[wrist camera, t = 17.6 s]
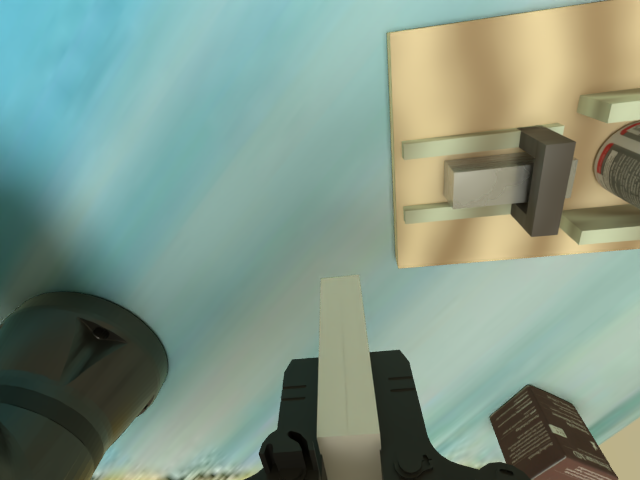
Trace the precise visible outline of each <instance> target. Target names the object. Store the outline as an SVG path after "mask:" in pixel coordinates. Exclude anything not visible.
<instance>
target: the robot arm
mask: <svg viewBox="0 0 640 480" xmlns="http://www.w3.org/2000/svg"><path fill="white" fill-rule="evenodd" d="M167 370H168V363H167V357H166V354H165V351H164V349H163V347H162V345H161V343H160V341H159V340H158V338H157V337H156V336H155V334H154V333H153V332H152V331H151V330H150V329H149V328H148V327H147V326H146V325H145V324H144V323H143V322H142V321H141V320H140V319H138V318H137V317H136V316H134V315H133V314H131V313H130V312H128V311H127V310H125V309H123V308H121V307H119V306H118V305H115V304H113V303H111V302H109V301H106V300H104V299H101V298H98V297H94V296H91V295H86V294H81V293H74V292H52V293H46V294H42V295H38V296H36V297H33V298H31V299H29V300H27V301H26V302H24V303H23V304H22V305H21V306H20V307H18V308H17V309H16V310H15V311H14V312H13V313H12V314H10V315H9V316H8V317H7V318H6V319H5V320H4V321H3V322H2V323H1V325H0V480H90V479H91V477H92V475H93V473H94V471H95V470H96V468H97V466H98V464H99V462H100V461H101V459H102V457H103V455H104V454H105V452H106V451H107V449H108V448H109V447H110V446H111V445H112V444H113V443H114V442H115V441H116V440H117V439H118V438H119V437H120V435H121V434H122V433H123V432H124V431H125V430H126V429H127V428H128V426H129V425H130V424H131V423H132V421H133V420H134V419H135V418H136V417H137V416H139V415H140V414H142V413H143V412H144V411H145V410H146V409H147V408H148V407H149V406H150V405H151V404H152V403H153V401H154V400H155V398H156V397H157V395H158V393H159V391H160V389H161V387H162V385H163V383H164V381H165V379H166V376H167ZM259 456H260V459H261V462H262V465H263V467H264V468H263V469H262V470H260V471H259V472H258V473H257V474H255V475H253V476H251V477H249V478H247V479H244V480H531V479H530V478H529V477H528V476H527V475H526V474H525V473H524V472H523V471H521V470H519V469H518V468H516V467H515V466H513V465H510V464H506V463H502V462H496V463H488V464H487V465H485V466H484V467H482V468H480V470H478V469H474V468H471V467H467V466H463V465H460V464H457V463H454V462H451V461H449V460H448V459H446V458H444V457H443V456H441V455H440V454H439V453H438V452H437V451H436V450H435V449H434V447H433V446H432V444H431V443H430V441H429V438H428V435H427V432H426V428H425V424H424V420H423V416H422V412H421V408H420V404H419V400H418V396H417V391H416V387H415V383H414V379H413V375H412V371H411V367H410V363H409V361H408V360H407V358H406V357H405V356H404V355H403V354H402V352H401V351H400V350H392V351H379V352H369V346H368V339H367V331H366V323H365V316H364V308H363V301H362V293H361V285H360V278H359V275H351V276H341V277H331V278H321V289H320V328H319V357H318V358H305V359H293V360H292V361H291V362H290V364H289V366H288V367H287V369H286V371H285V372H284V380H283V390H282V396H281V404H280V412H279V420H278V428H277V430H276V431H274V432H273V433H271V434H270V435H269V436H268V437H267V438H266V439H265V441H264V442H263V443H262V446H261V449H260V452H259Z"/></svg>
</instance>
